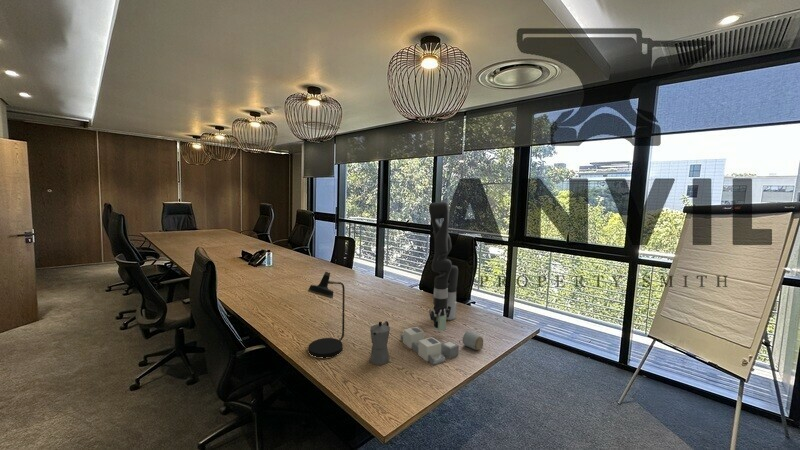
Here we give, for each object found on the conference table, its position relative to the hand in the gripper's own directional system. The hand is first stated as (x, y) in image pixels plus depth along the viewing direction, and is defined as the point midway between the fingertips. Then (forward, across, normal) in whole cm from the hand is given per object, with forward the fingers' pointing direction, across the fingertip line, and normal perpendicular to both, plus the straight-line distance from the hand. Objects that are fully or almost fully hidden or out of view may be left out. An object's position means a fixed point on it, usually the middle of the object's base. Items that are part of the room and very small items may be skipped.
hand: (439, 326), depth 168 cm
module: (+1, 0, 0) cm, 1 cm away
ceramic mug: (+6, -8, +18) cm, 20 cm away
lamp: (+5, +57, -16) cm, 59 cm away
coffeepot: (+5, +39, +5) cm, 40 cm away
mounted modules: (+5, +18, +7) cm, 20 cm away
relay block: (+5, +8, +18) cm, 20 cm away
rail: (+5, +18, +7) cm, 20 cm away
